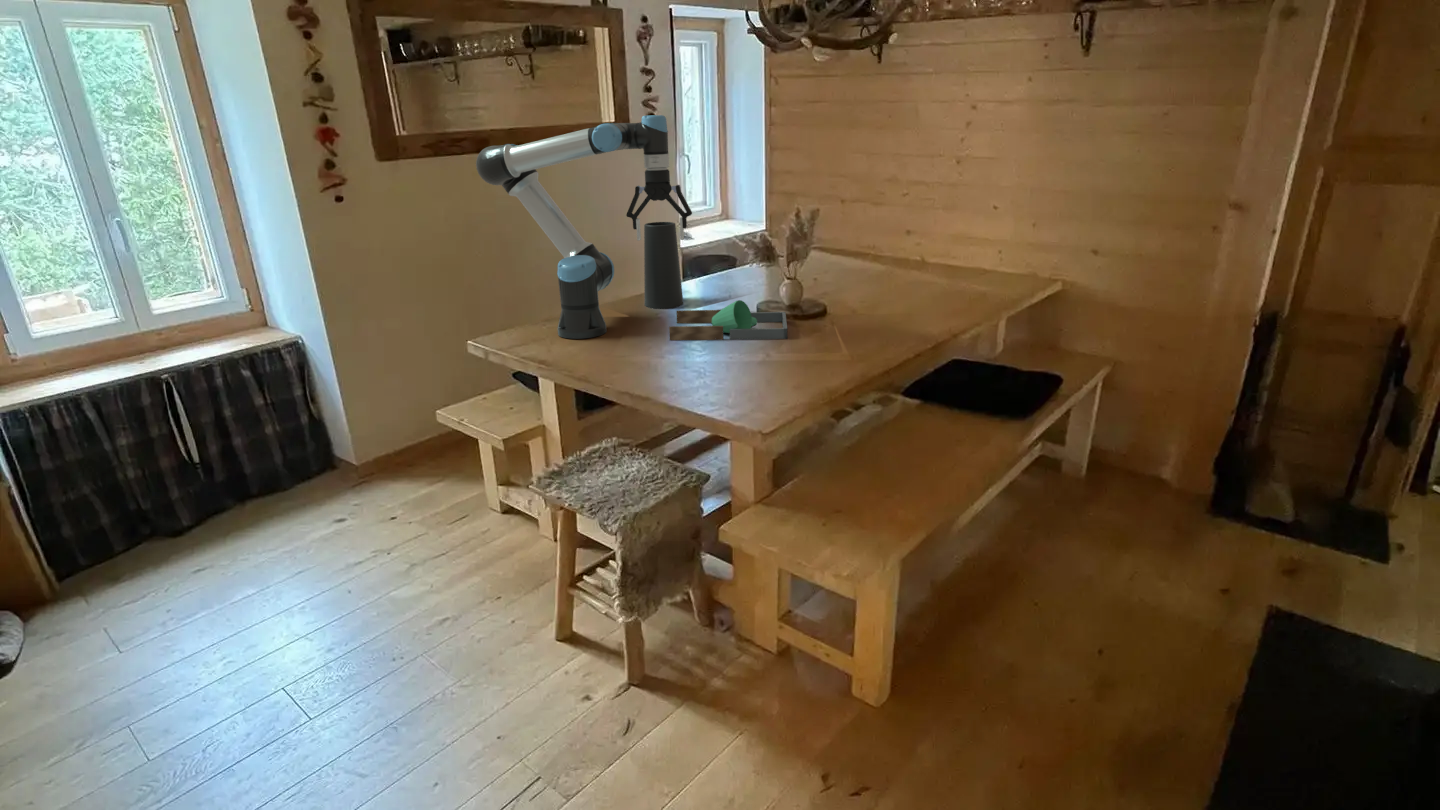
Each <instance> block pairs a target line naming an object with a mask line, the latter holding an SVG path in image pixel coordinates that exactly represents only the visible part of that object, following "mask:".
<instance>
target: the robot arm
mask: <svg viewBox="0 0 1440 810" xmlns="http://www.w3.org/2000/svg"><path fill="white" fill-rule="evenodd" d="M666 117H667V116H665V115H663V114H655V115H642V117H641V120H640V121H641V122H640V121H639V122H619V123H618V122H611V123H609V122H605V123H600V124H599V125H597V126H593V127H589V128H584V129H581V130H577V131H572V132H568V133H565V134H560V135H555V136H552V137H548V138H544V139H539V140H536V141H531V142H527V143H524V144H519V145H518V144H517V145H516V144H514V143H511V144H510V143H505V144H503V145H501V144H499V145H491V146H487V147H485V148H483V149H482V150H481V151H480V152H479V153H478V155H477V157H476V161H475V167H476V170H477V173H478V176H479V177H480V178H481V179H482V180H483V181H484V182H485V183H487V184H489V185H492V186H502V188H503V189H504V190H505V192H506V193H507V194H508V195H509V196H510V197H516V199H518V200H519V201H520V203H521V204H522V206H523V207H524V208H525V209H526V211H527V213H529V215H530V216H531V217H532V218H533V220H534V221H535V222H536V223H537V225H538V226H539V227H540V228H541V230H542V231H543V232H544V233H545V234H544V235H546V237H548V239H549V240H550V241H551V242H552V244H553V245H554V247H555V248H556V249H557V250H558V252H559V253H560V254H561V256H562V257H563V258H562V259H560V261H558V263H557V273H556V274H557V279H558V287H559V288H558V290H559V298H560V299H559V300H560V309H561V310H560V311H561V312H560V316H559V320H558V323H557V324H558V325H557V335H558V336H559V337H561V338H564V339H572V340H576V339H580V340H581V339H582V340H583V339H590V338H595V337H600V336H602V335H604V334H606V333H607V323H606V321H605V319H604V316H603V314H602V312H601V309H600V303H599V291H602V290H604V289H605V288H606V287H608V286H609V285H610V284H611V282H612V281H613V279H614V276H615V266H614V263H613V261H612V259H611V258H610V257H609V256H608V255H607V254H606V253H604V252H600V251H599V250H598V249H597V247H596V246H595V245H594V243H593V242H589V241H585V239H584V238H583V237H582V235H581V234H580V233H579V231H578V230H577V229H576V227H575V226H574V225H573V224H572V222H571V221H570V220H569V219H568V217H567V216H566V214H565V213H564V212H563V211H562V210H561V209H560V207H559V205H558V204H557V203H556V202H555V201H554V199H553V197H551V195H550V194H549V193H548V191H547V190H546V189H545V188H544V186H543V185H542V184H541V182H540V181H539V175H540V174H539V172H538V169H542V168H546V167H551V166H554V165H559V164H563V163H567V162H570V161H575V160H579V159H584V158H589V157H592V156H596V155H602V154H606V153H611V152H614V151H615V152H616V151H623V150H643V163H644V164H643V165H644V167H643V168H645V171H644V181H645V182H644V183H645V184H644V186H640V185H636V186H635V187H634V188H635V190H634V195H633V198H632V200H631V202H630V205H629V207H628V210H627V212H626V215H625V216H626V218H630V219H632V228H633V230H636V241H641V240H642V236H641V235H642V234H641V220H640V219H641V218H638V216H639V215H640V214H641V212H642V211H643V210H644V209H645V207H646V206H647V204H648V203H649V202H650V201H653V202H656V201H661V202H662V201H664V200H665V201H667V202H668V203H669V204H670V205H671V206H672V208H673V209H674V210H675V211H676V212H677V213H678V214H679V215H680V216H681V217H679V234H680V240H682V241H683V240H684V237H685V236H684V235H685V234H684V229H687V227H688V224H687V223H688V222H687V221H688V220H687V218H688V217H690V216H692V215H693V211H692V209H691V208H690V206H689V204H688V202H687V199H686V198H685V196H684V194H683V192H682V189H681V188H682V187H681V184H677V185H672V184H671V182H670V181H671V178H670V170H669V169H668V168H669V167H670V157H669V156H670V155H669V137H668V136H669V135H668V133H669V131H668V123H667V121H668V120H667V118H666ZM643 191H644V192H645V194H646V195H647V196H646V197H645V199H644V200H643V201H642V203H640V205H639V206H638V208H637V209H636V211H635V212H634V213H633V211H634V210H635V207H636V205H637V202H638V200H639V198H640V194H643ZM672 191H673V192H674V193H676V195H677V197H678V199H679V200H680V202H681V205H682V206H683V208H684V210H685V211H684V210H683V209H682V208H681V206H680V205H679V204H678V203H677V201H675V200H674V198H673V197H672V196H671V194H670V193H671V192H672Z"/></svg>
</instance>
